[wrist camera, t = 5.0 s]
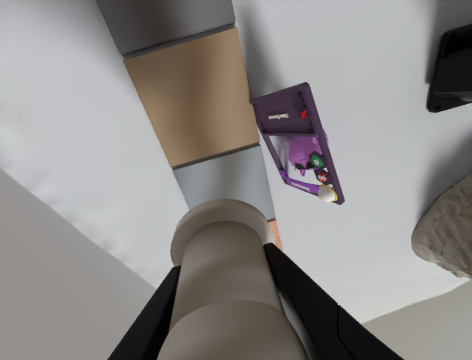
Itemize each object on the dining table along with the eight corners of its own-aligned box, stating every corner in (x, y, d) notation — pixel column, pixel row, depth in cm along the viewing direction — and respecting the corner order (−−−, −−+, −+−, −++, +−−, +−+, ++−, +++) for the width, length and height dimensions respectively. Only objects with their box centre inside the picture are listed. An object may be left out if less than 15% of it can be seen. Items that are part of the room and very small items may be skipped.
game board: (193, -178, 10) (193, -188, 9) (285, 267, 25) (286, 270, 25) (40, -131, 10) (33, -139, 10) (224, 284, 25) (224, 287, 25)
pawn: (262, 187, 8) (427, 498, 2) (276, 261, 10) (376, 529, 4) (157, 213, 8) (-37, 621, 2) (192, 282, 10) (157, 586, 4)
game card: (293, 91, 10) (335, 212, 13) (358, 47, 11) (380, 171, 14) (239, 106, 16) (279, 187, 19) (285, 78, 17) (314, 159, 20)
